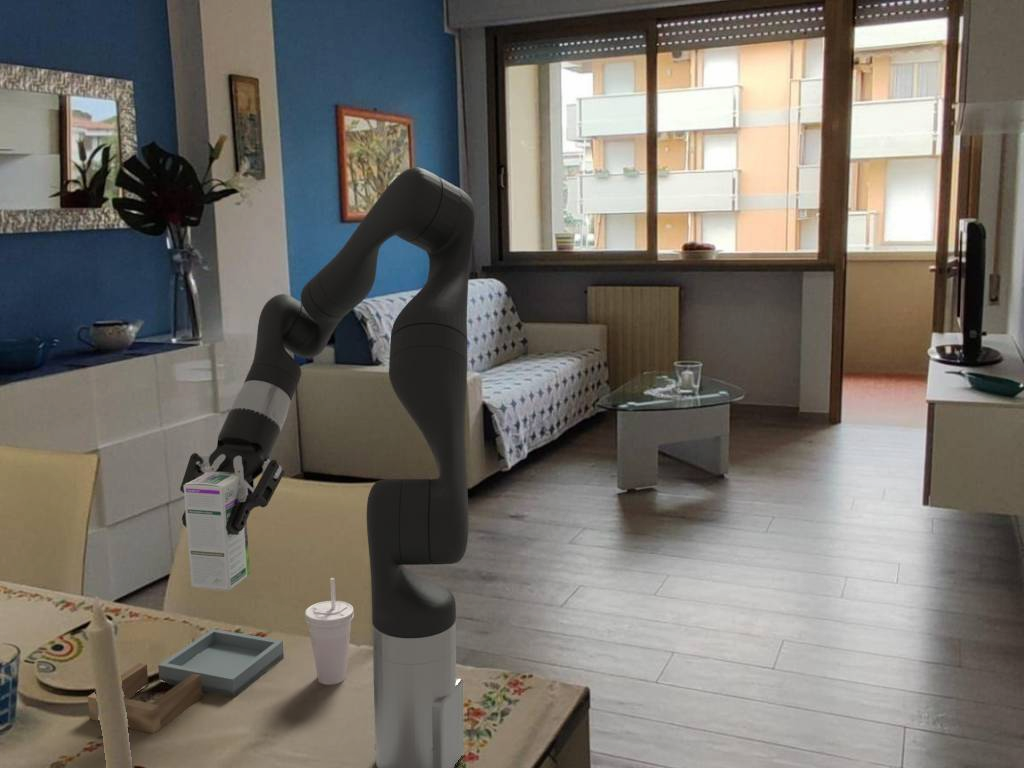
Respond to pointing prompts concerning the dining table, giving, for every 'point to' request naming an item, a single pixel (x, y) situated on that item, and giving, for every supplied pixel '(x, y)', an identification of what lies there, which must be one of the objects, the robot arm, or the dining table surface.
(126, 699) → the holder
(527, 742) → the dining table surface
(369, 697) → the dining table surface
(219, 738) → the dining table surface
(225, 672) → the tray
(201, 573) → the syrup box
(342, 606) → the smoothie
